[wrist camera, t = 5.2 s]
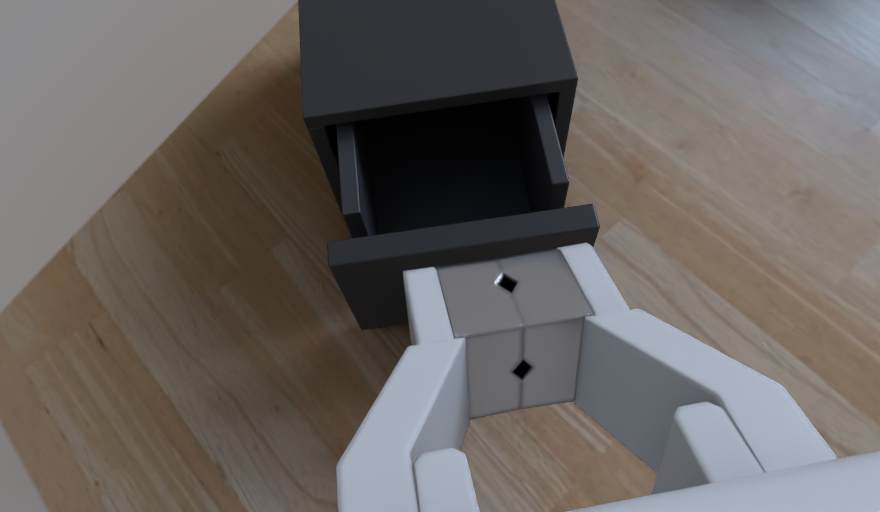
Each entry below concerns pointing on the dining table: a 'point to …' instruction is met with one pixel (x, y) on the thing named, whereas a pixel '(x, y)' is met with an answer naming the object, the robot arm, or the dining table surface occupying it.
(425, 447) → the robot arm
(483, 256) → the drawer
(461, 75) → the cabinet
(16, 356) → the dining table surface
